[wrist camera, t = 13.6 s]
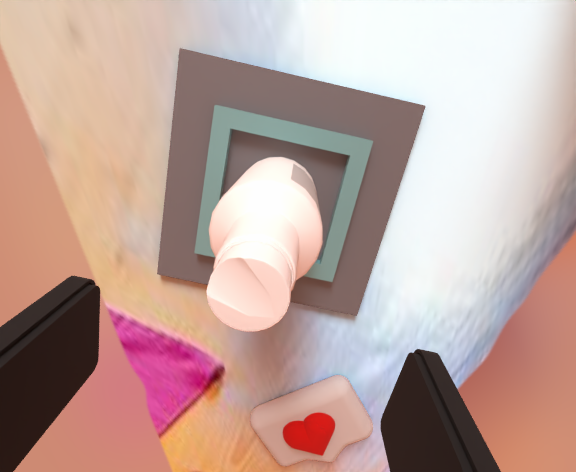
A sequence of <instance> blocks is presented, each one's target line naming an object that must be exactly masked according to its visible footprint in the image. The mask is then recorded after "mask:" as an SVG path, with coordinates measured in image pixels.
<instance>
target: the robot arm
mask: <svg viewBox="0 0 576 472" xmlns="http://www.w3.org/2000/svg"><path fill="white" fill-rule="evenodd" d="M99 314H100V288H99V287H98V286H95V282H94V281H93V280H91V279H87V278H82V277H77V276H71V277H69V278H67V279H66V280H65V281H63V282H62V283H60V284H59V285H58V286H56V287H55V288H54V289H52V290H51V291H49V292H48V293H47V294H45V295H44V296H43V297H41V298H40V299H38V300H37V301H36V302H34V303H33V304H31V305H30V306H29V307H27V308H26V309H25V310H23V311H22V312H21V313H19V314H18V315H16V316H15V317H14V318H12V319H11V320H10V321H8V322H7V323H5V324H4V325H2V326H1V327H0V472H13V471H14V470H15V469H16V468H17V466H18V465H19V464H20V463H21V461H22V460H23V459H24V458H25V456H26V455H27V454H28V453H29V451H30V450H31V449H32V447H33V446H34V445H35V444H36V443H37V441H38V440H39V439H40V438H41V436H42V435H43V434H44V433H45V431H46V430H47V429H48V428H49V426H50V425H51V424H52V423H53V421H54V420H55V419H56V418H57V416H58V415H59V414H60V413H61V411H62V410H63V408H65V406H66V405H67V404H68V403H69V401H70V400H71V399H72V397H73V396H74V395H75V394H76V392H77V391H78V390H79V389H80V387H81V386H82V385H83V384H84V383H85V381H86V380H87V379H88V378H89V376H90V375H91V374H92V373H93V371H94V370H95V367H96V365H97V362H98V351H99V350H98V349H99ZM381 433H382V437H383V442H384V446H385V450H386V455H387V459H388V463H389V468H390V472H501V471H500V469H499V467H498V465H497V463H496V462H495V460H494V458H493V456H492V454H491V452H490V450H489V448H488V447H487V445H486V443H485V441H484V439H483V437H482V435H481V433H480V431H479V430H478V428H477V426H476V424H475V422H474V420H473V418H472V416H471V415H470V413H469V411H468V409H467V407H466V405H465V403H464V401H463V399H462V398H461V396H460V394H459V392H458V390H457V388H456V386H455V384H454V383H453V381H452V379H451V377H450V375H449V373H448V371H447V369H446V367H445V366H444V364H443V362H442V360H441V358H440V356H439V355H438V354H437V353H435V352H430V351H425V350H421V349H417V350H415V352H414V353H409V354H408V356H407V358H406V360H405V363H404V365H403V368H402V370H401V372H400V375H399V377H398V380H397V382H396V384H395V387H394V389H393V392H392V394H391V396H390V399H389V401H388V404H387V406H386V408H385V411H384V413H383V416H382V419H381Z"/></svg>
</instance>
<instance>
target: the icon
mask: <svg viewBox="0 0 576 472" xmlns="http://www.w3.org/2000/svg"><path fill="white" fill-rule="evenodd" d="M250 424H251V427H252V428H253V430H254V431H255V432H256V434H257V435H258V437H259V438H260V439H261V441H262V442H263V443H264V445H265V446H266V448H267V449H268V450H269V452H270V453H271V454H272V456H273V457H274V459H275V460H276V461H277V463H278V464H280V465H281V466H290V465H293V464H296V463H298V462H301V461H304V460H316V461H323V462H331V463H332V462H334V461H335V459H336V458H337V457H338V455H339V454H340V453H341V451H342V450H343V449H344V447H345V446H347V445H349V444H352V443H355V442H358V441H361V440H363V439H366V438H368V437H369V436H370V435H371V433H372V430H373V423H372V420H371V418H370V416H369V414H368V413H367V411H366V409H365V408H364V406H363V404H362V402H361V401H360V399H359V397H358V396H357V394H356V392H355V390H354V389H353V387H352V385H351V383H350V382H349V380H348V379H347V378H346V377H344V376H342V375H334V376H332V377H329V378H327V379H324V380H321V381H319V382H316V383H314V384H311V385H309V386H306V387H304V388H301V389H299V390H296V391H294V392H291V393H289V394H286V395H284V396H281V397H279V398H276V399H274V400H271V401H269V402H266V403H263V404H261V405H258V406H257V407H255V408H254V409H253V411H252V412H251V415H250Z"/></svg>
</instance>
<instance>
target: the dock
mask: <svg viewBox="0 0 576 472" xmlns="http://www.w3.org/2000/svg"><path fill="white" fill-rule="evenodd" d="M424 109H425V106H424V105H419V104H415V103H411V102H407V101H402V100H398V99H394V98H390V97H385V96H381V95H377V94H373V93H368V92H364V91H360V90H356V89H351V88H347V87H343V86H339V85H334V84H330V83H326V82H321V81H317V80H313V79H309V78H304V77H300V76H296V75H292V74H287V73H283V72H279V71H275V70H270V69H266V68H262V67H258V66H253V65H249V64H245V63H241V62H236V61H232V60H228V59H223V58H219V57H215V56H211V55H206V54H202V53H198V52H194V51H189V50H185V49H181V48H180V51H179V61H178V71H177V81H176V91H175V101H174V111H173V121H172V131H171V141H170V151H169V161H168V171H167V182H166V192H165V202H164V212H163V222H162V232H161V242H160V252H159V262H158V272H157V274H159V275H163V276H168V277H173V278H178V279H183V280H188V281H192V282H197V283H202V284H207V285H208V284H209V280H210V276H211V274H212V273H213V271H214V269H213V267H214V263H215V258H216V257H215V255H214V253H213V251H212V249H211V245H210V236H209V226H210V221H211V217H212V212H213V211H214V209H215V207H216V206H217V204H218V203H219V201H220V199H221V198H222V197H223V196H224V194H225V193H226V192H227V191H228V190H229V189H230V188H231V187H232V186H233V185H234V184H235V183H236V182H237V180H238V179H239V178H240V177H241V176H242V175H243V174H244V173H245V172H246V171H247V170H248V169H249V168H250V167H251V166H253V165H254V164H255V163H256V162H258V161H260V160H263V159H266V158H269V157H284V158H287V159H291V160H294V161H295V162H297V163H298V164H300V165H301V166H303V167H304V168H305V169H306V170H307V172H308V173H309V174H310V176H311V177H312V179H313V182H314V185H315V188H316V193H317V198H318V204H319V210H320V215H321V221H322V241H323V243H322V246H321V249H320V252H319V255H318V258H317V260H316V261H315V263H314V264H313V265H312V267H311V268H310V269H309V271H308V272H307V273H306V274H305V275H303V276H302V277H300V278H299V279H297V280H296V282H295V285H294V288H293V290H292V291H291V298H290V302H294V303H298V304H303V305H308V306H313V307H318V308H323V309H327V310H332V311H337V312H342V313H347V314H351V315H356V316H357V313H358V310H359V307H360V304H361V301H362V298H363V295H364V292H365V289H366V286H367V283H368V280H369V277H370V274H371V271H372V268H373V265H374V262H375V259H376V256H377V253H378V250H379V246H380V243H381V240H382V237H383V234H384V231H385V228H386V225H387V222H388V219H389V216H390V213H391V210H392V207H393V204H394V201H395V198H396V195H397V192H398V189H399V186H400V182H401V179H402V176H403V173H404V170H405V167H406V164H407V161H408V158H409V155H410V152H411V149H412V146H413V143H414V140H415V137H416V134H417V131H418V128H419V125H420V122H421V119H422V115H423V112H424Z"/></svg>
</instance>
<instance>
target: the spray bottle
mask: <svg viewBox="0 0 576 472" xmlns="http://www.w3.org/2000/svg"><path fill="white" fill-rule="evenodd" d="M209 236H210V245H211V249H212V251H213V253H214V255H215V257H216V258H215V263H214V267H213V269H214V271H213V273H212V274H211V276H210V280H209V284H208V287H207V300H208V303H209V305H210V307H211V309H212V312H213V313H214V314H215V315H216V317H217V318H218V319H219V320H220V321H221V322H223V323H224V324H226V325H228V326H229V327H231V328H233V329H237V330H241V331H245V332H251V331H261V330H264V329H267V328H270V327H271V326H273V325H274V324H276V323H278V322H279V321H280V320H281V319H282V317H283V316H284V315H285V313H286V312H287V310H288V307H289V303H290V298H291V291H292V290H293V288H294V285H295V282H296V280H297V279H299V278H300V277H302V276H303V275H305V274H306V273H307V272H308V271H309V269H310V268H311V267H312V265H313V264H314V263H315V261H316V260H317V258H318V255H319V252H320V249H321V246H322V243H323V241H322V221H321V215H320V210H319V204H318V198H317V193H316V188H315V185H314V182H313V179H312V177H311V176H310V174H309V173H308V172H307V170H306V169H305V168H304V167H303V166H301V165H300V164H298V163H297V162H295V161H294V160H291V159H287V158H284V157H269V158H266V159H263V160H260V161H258V162H256V163H255V164H254V165H253V166H251V167H250V168H249V169H248V170H247V171H246V172H245V173H244V174H243V175H242V176H241V177H240V178H239V179H238V180H237V182H236V183H235V184H234V185H233V186H232V187H231V188H230V189H229V190H228V191H227V192H226V193H225V194H224V196H223V197H222V198H221V199H220V201H219V203H218V204H217V206H216V207H215V209H214V211H213V212H212V217H211V221H210V226H209Z"/></svg>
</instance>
